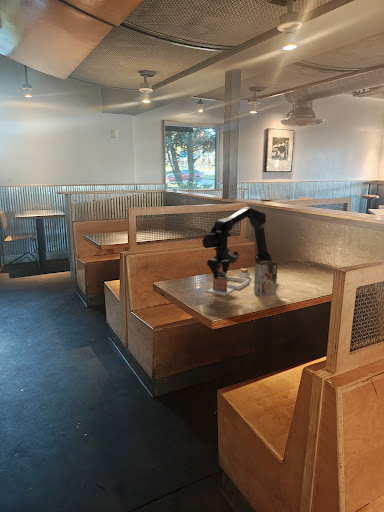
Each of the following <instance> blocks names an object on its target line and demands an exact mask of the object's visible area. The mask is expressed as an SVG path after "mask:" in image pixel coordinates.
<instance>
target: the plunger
mask: <svg viewBox="0 0 384 512" xmlns="http://www.w3.org/2000/svg"><path fill="white" fill-rule="evenodd" d="M240 271H241V272H244V273H247V272H248V271H249V268H246V267H245V268H243V267H241V268H240ZM240 271H239V272H240Z"/></svg>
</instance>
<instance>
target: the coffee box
mask: <svg viewBox="0 0 384 512" xmlns="http://www.w3.org/2000/svg"><path fill="white" fill-rule="evenodd" d="M277 277H278V262H276V261H273V260H272V261H270V260H268V261H260V262H256V261H255V263H254V278H253V279H254V281H253V283H254V285H253V293H254V294H255V295H258V296H259V297H267V296H271V295H276V294H277V279H278V278H277Z"/></svg>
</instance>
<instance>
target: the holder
mask: <svg viewBox="0 0 384 512" xmlns="http://www.w3.org/2000/svg"><path fill="white" fill-rule="evenodd" d="M250 273H251V271H250V270H248V272H247V273H244V272H241V271H238V277H237V276H231V275H226V276H227V277H228V279H227V281H232V282H239V283H240V284H233V283H228V282H227V288H231V289H234V290H239V291H240V290H241V289H243V288H244V287H246V286H248V285H249V284H250V283H251V280H252V277H251V276H250Z"/></svg>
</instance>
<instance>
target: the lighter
mask: <svg viewBox="0 0 384 512" xmlns="http://www.w3.org/2000/svg"><path fill="white" fill-rule="evenodd" d="M225 273H226V272H223V270H219V272H218V278H217V279H215V277H214V275H213V274H212V278H213V279H212V288H213V290H216V291H220V292H227V283H228V280H227V279H228V277H227V276H228V275H225ZM226 274H227V273H226Z"/></svg>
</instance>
